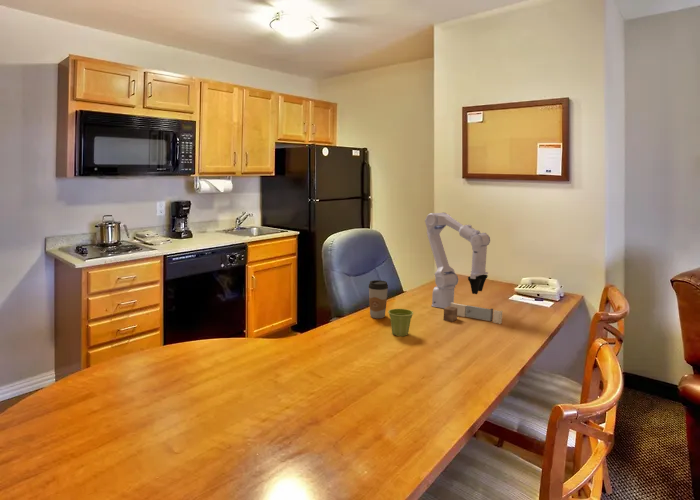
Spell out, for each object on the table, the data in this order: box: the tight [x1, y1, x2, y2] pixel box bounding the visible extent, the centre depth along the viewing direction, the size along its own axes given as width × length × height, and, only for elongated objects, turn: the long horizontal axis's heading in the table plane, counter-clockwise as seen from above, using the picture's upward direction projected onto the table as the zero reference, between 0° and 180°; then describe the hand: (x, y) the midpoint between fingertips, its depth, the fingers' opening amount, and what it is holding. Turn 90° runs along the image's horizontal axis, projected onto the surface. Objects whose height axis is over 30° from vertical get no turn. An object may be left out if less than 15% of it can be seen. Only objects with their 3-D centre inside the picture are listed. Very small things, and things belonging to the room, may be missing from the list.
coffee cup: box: [368, 279, 389, 319], centre depth 188 cm, size 8×8×15 cm
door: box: [465, 305, 494, 322], centre depth 186 cm, size 11×2×5 cm, turn 57°
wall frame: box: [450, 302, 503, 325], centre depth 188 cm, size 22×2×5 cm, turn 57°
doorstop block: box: [443, 306, 458, 323], centre depth 186 cm, size 4×5×5 cm
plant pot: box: [387, 308, 414, 337], centre depth 167 cm, size 9×9×9 cm
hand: (477, 292), depth 191 cm, fingers open, 6 cm apart
